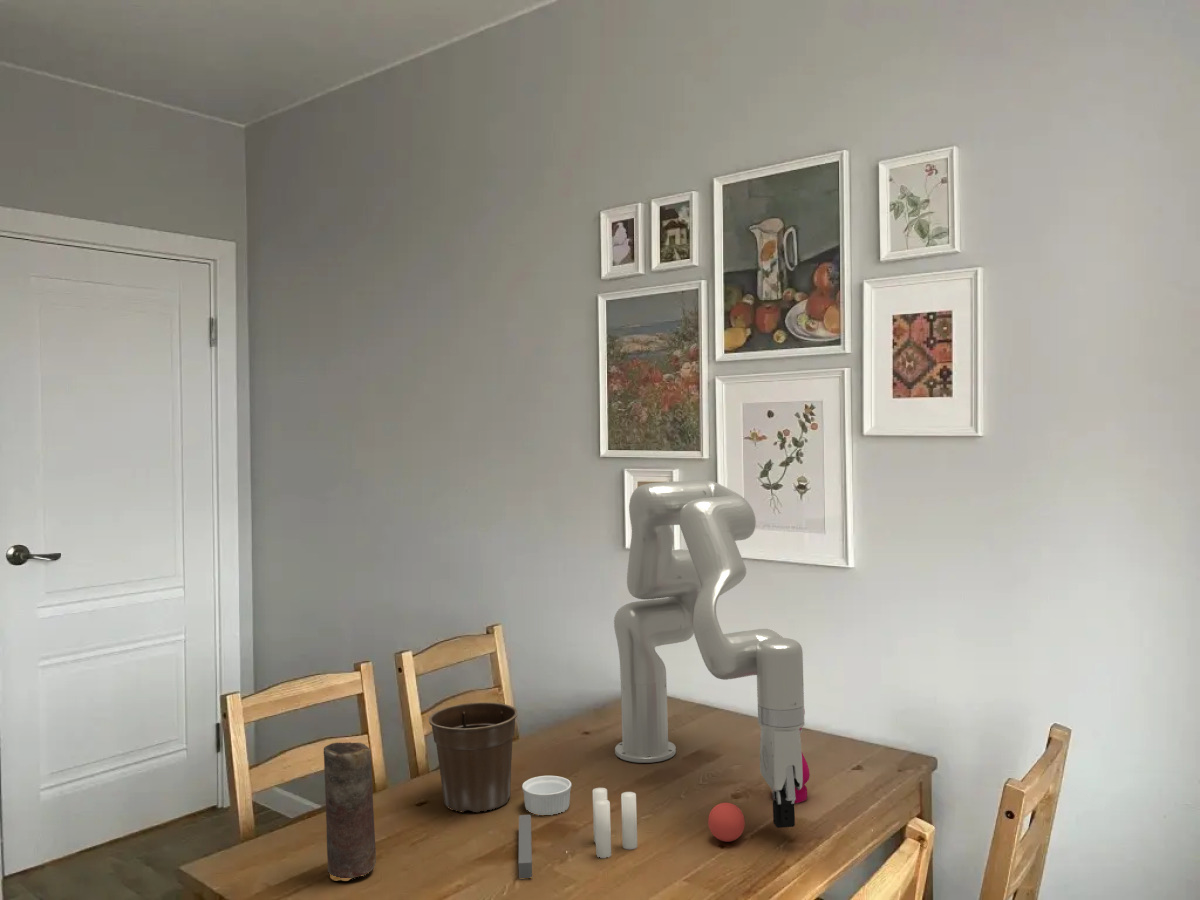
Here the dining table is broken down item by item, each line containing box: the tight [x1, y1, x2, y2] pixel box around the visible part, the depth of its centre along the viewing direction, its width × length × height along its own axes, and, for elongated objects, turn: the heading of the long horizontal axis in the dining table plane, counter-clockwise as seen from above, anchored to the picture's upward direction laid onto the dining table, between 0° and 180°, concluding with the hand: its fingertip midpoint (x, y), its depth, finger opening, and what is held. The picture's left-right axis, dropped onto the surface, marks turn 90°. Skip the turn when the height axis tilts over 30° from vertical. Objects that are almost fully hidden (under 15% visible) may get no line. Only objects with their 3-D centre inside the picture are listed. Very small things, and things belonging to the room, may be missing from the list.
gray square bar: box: [518, 814, 533, 879], centre depth 157 cm, size 18×2×2 cm, turn 5°
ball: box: [707, 802, 746, 843], centre depth 159 cm, size 6×6×6 cm
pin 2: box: [595, 799, 612, 859], centre depth 155 cm, size 2×2×8 cm
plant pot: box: [428, 701, 518, 813], centre depth 179 cm, size 16×16×16 cm
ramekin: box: [521, 775, 572, 816], centre depth 175 cm, size 9×9×4 cm
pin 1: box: [592, 787, 608, 844], centre depth 160 cm, size 2×2×8 cm
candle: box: [323, 742, 377, 878], centre depth 151 cm, size 8×7×20 cm
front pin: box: [620, 791, 638, 850], centre depth 158 cm, size 2×2×8 cm
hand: (784, 825), depth 160 cm, fingers closed
